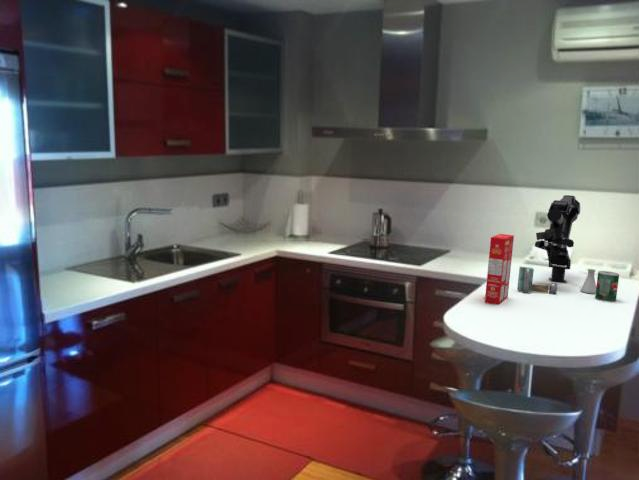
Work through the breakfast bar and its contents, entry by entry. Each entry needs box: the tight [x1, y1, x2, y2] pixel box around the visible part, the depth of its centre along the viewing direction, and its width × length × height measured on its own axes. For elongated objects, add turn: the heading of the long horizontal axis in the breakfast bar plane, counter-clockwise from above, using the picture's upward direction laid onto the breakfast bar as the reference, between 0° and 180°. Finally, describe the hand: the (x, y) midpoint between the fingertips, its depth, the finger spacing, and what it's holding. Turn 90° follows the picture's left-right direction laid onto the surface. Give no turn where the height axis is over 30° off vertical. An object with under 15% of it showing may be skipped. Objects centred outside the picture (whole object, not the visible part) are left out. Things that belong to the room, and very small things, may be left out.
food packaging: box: [484, 233, 515, 305], centre depth 231 cm, size 15×5×25 cm, turn 150°
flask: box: [579, 268, 597, 295], centre depth 255 cm, size 7×7×10 cm
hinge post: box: [548, 283, 558, 295], centre depth 249 cm, size 3×3×4 cm
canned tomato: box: [594, 270, 620, 303], centre depth 243 cm, size 8×8×11 cm
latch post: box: [522, 269, 531, 295], centre depth 247 cm, size 2×2×10 cm
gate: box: [516, 266, 550, 294], centre depth 250 cm, size 12×4×10 cm, turn 83°
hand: (550, 262), depth 258 cm, fingers closed
